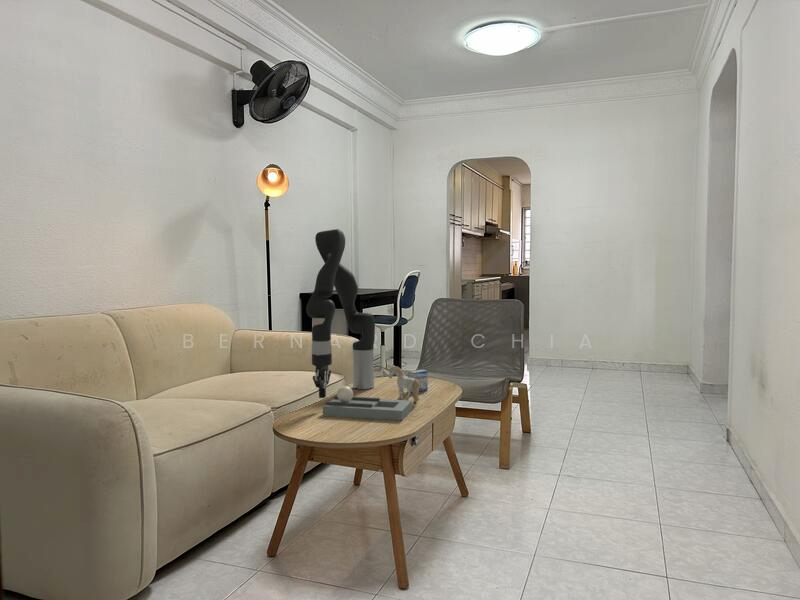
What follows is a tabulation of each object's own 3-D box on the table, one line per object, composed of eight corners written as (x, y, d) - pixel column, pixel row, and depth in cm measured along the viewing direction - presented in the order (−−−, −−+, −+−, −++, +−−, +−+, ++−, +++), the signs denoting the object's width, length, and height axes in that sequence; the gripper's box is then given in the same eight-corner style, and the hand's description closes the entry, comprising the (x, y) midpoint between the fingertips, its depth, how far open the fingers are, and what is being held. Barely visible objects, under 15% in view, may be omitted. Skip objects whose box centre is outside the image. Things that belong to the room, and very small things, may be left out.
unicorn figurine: (390, 395, 244) (390, 363, 244) (428, 402, 232) (428, 368, 231) (379, 398, 239) (379, 366, 238) (417, 405, 227) (417, 371, 226)
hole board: (337, 405, 228) (337, 394, 228) (412, 409, 221) (412, 398, 220) (322, 415, 214) (322, 403, 214) (402, 420, 206) (402, 408, 206)
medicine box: (414, 393, 248) (414, 372, 248) (407, 391, 252) (407, 371, 251) (428, 390, 253) (428, 370, 253) (421, 388, 257) (421, 369, 256)
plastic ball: (340, 399, 223) (340, 384, 223) (355, 400, 221) (355, 385, 221) (334, 403, 217) (334, 387, 217) (350, 404, 216) (349, 388, 215)
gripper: (319, 349, 228) (320, 393, 229) (305, 354, 215) (306, 401, 216) (337, 349, 226) (338, 394, 227) (324, 355, 213) (325, 402, 214)
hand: (322, 397), depth 221 cm, fingers closed
